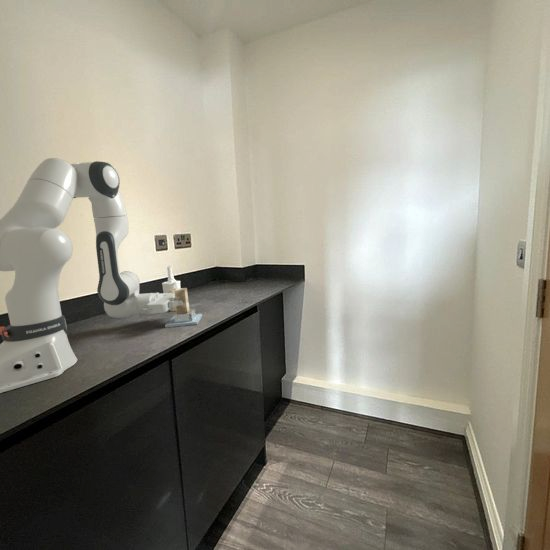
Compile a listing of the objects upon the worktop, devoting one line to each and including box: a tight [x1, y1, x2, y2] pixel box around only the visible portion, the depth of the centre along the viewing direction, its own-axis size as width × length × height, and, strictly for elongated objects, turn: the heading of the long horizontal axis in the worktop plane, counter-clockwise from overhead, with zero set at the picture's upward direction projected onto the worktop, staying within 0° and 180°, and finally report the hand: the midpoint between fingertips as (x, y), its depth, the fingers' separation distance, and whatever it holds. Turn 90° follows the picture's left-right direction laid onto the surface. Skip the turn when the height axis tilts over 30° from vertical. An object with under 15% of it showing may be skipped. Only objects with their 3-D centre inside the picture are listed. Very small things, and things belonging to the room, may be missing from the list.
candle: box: [168, 289, 177, 312], centre depth 139 cm, size 6×6×10 cm
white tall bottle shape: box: [161, 265, 181, 293], centre depth 151 cm, size 10×9×20 cm
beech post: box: [174, 287, 190, 314], centre depth 117 cm, size 4×4×11 cm
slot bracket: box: [173, 308, 197, 323], centre depth 118 cm, size 8×7×3 cm
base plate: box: [164, 313, 203, 328], centre depth 118 cm, size 12×12×1 cm
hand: (184, 301), depth 117 cm, fingers closed on beech post, 4 cm apart
